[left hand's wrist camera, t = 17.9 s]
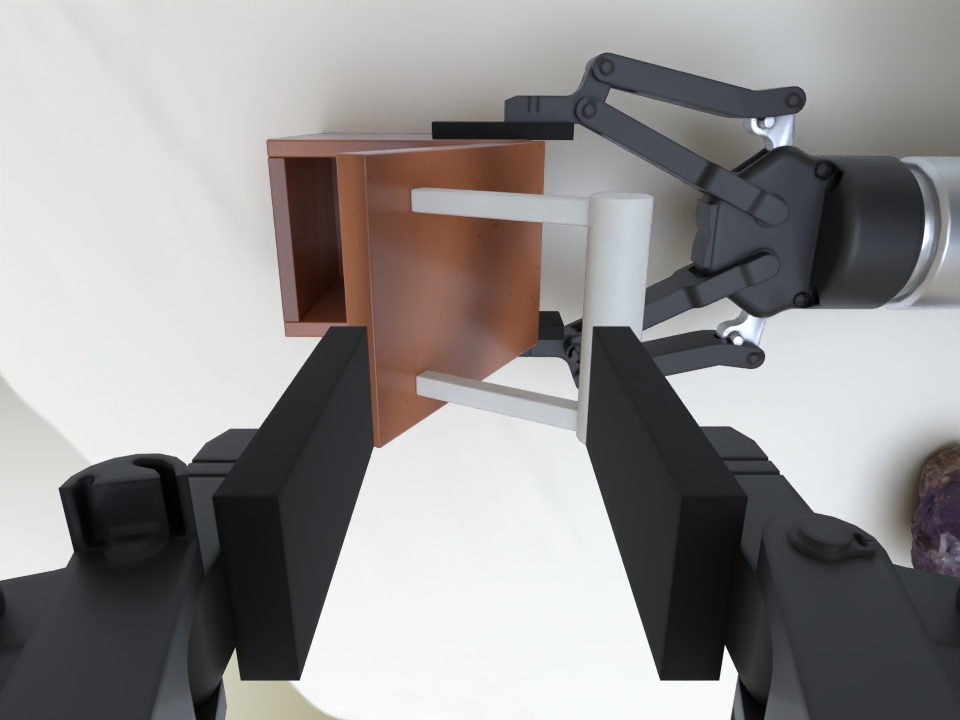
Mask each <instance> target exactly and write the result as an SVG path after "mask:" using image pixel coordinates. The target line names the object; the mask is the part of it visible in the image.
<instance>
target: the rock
mask: <svg viewBox="0 0 960 720" xmlns="http://www.w3.org/2000/svg"><path fill="white" fill-rule="evenodd" d="M918 493H919V496H920V501H921V503H920V504H919V506H918V507H917V508H916V509H915V514H914V515H913V517H912V519H911V522H910V526H911V532H912V534H913V542H912V550H911V557H912V564H913V568H914V569H917V570H923V571H928V572H933V573H938V574H944V575H949V576H954V577H960V446H957V447H955V448H952V449H946V450H944V451H942V452H941V453H939V454H938V455H937V456H935V457H934V458H932V459H930V460H929V461H928V462H927V463H926V464H925V465H924V467H923V470H922V473H921V477H920V480H919V483H918Z"/></svg>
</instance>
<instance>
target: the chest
mask: <svg viewBox="0 0 960 720" xmlns="http://www.w3.org/2000/svg"><path fill="white" fill-rule="evenodd" d="M514 141H531V140H529V139H432V134H328V133H320V134H312V135H303V136H294V137H285V138H276V139H268V140H267V141H266V142H267V152H268V157H269V158H268V165H269V175H270V185H271V195H272V205H273V216H274V226H275V236H276V246H277V256H278V266H279V277H280V287H281V297H282V307H283V317H284V327H285V336H286V337H323V336H324V335H325V333H326V332H327V330H328V329H329V327H330V326H347V314H346V299H345V284H344V269H343V253H342V238H341V223H340V207H339V192H338V177H337V162H336V154H338V153H348V152H363V151H378V150H393V149H408V148H423V147H438V146H453V145H468V144H484V143H499V142H514Z"/></svg>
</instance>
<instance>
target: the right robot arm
mask: <svg viewBox="0 0 960 720" xmlns="http://www.w3.org/2000/svg"><path fill="white" fill-rule="evenodd" d="M610 88H613V89H617V90H621V91H624V92H628V93H632V94H636V95H640V96H644V97H648V98H652V99H655V100H659V101H663V102H667V103H671V104H675V105H679V106H683V107H686V108H690V109H694V110H698V111H702V112H706V113H710V114H714V115H718V116H722V117H728V118H744V128H745V130H746V131H747V132H748V133H750V134H753V135H758V136H760V137H762V139H763V140H764V142H765V148H764V149H763V150H761V151H760V152H758V153H757V154H755V155H754V156H752V157H751V158H749V159H748V160H746V161H745V162H744V163H742V164H741V165H739V166H738V167H736V168H735V169H733V170H732V171H728V170H726V169H724V168H722V167H720V166H718V165H716V164H714V163H712V162H710V161H708V160H706V159H704V158H702V157H701V156H699V155H697V154H695V153H694V152H692V151H690V150H688V149H686V148H685V147H683V146H681V145H679V144H678V143H676V142H674V141H672V140H670V139H669V138H667V137H665V136H663V135H662V134H660V133H658V132H656V131H654V130H653V129H651V128H649V127H647V126H646V125H644V124H642V123H640V122H638V121H637V120H635V119H633V118H631V117H630V116H628V115H626V114H624V113H622V112H621V111H619V110H617V109H615V108H613V107H612V106H610V105H608V104H606V103H605V100H606V98H607V95H608V93H609V90H610ZM805 102H806V95H805V92H804V91H803V89H801V88H799V87H794V86H792V87H781V88H770V89H762V90H750V89H746V88H742V87H738V86H734V85H731V84H727V83H723V82H719V81H715V80H712V79H708V78H704V77H700V76H696V75H692V74H689V73H685V72H681V71H677V70H673V69H670V68H666V67H662V66H658V65H654V64H650V63H647V62H643V61H639V60H635V59H631V58H628V57H624V56H620V55H616V54H612V53H603V54H600V55H598V56H596V57H594V58H592V59H591V60H590V61H589V62H588V63H587V65H586V68H585V73H584V76H583V78H582V81H581V83H580V86H579V88H578V89H577V90H576V92H575V93H573V94H572V95H569V96H515V97H512V98H510V99H507V100H505V110H504V122H447V121H435V122H432V139H529V140H573V136H574V124H580V125H582V126H584V127H586V128H587V129H589V130H591V131H593V132H595V133H597V134H598V135H600V136H602V137H604V138H606V139H607V140H609V141H611V142H613V143H615V144H616V145H618V146H620V147H622V148H624V149H625V150H627V151H629V152H631V153H633V154H635V155H636V156H638V157H640V158H642V159H644V160H645V161H647V162H649V163H651V164H653V165H654V166H656V167H658V168H660V169H662V170H663V171H665V172H667V173H669V174H671V175H673V176H674V177H676V178H678V179H680V180H681V181H683V182H684V183H686V184H688V185H690V186H691V187H693V188H695V189H697V190H699V191H700V192H702V193H704V194H703V196H702V198H701V200H697V207H696V220H697V226H698V232H697V234H696V237H695V240H694V242H693V245H692V252H691V260H692V261H693V262H694V263H692V264H690V265H688V266H685V267H683V268H681V269H679V270H677V271H676V272H674V273H673V275H672V276H671V277H669V278H667V279H665V280H662V281H660V282H658V283H656V284H654V285H652V286H650V287H647V288H646V292H645V304H644V315H643V326H642V331H643V330H646V329H648V328H650V327H652V326H654V325H657V324H659V323H661V322H663V321H665V320H667V319H670V318H672V317H674V316H676V315H678V314H681V313H683V312H685V311H687V310H689V309H692V308H701V307H704V306H707V305H709V304H711V303H714V302H716V301H718V300H720V299H722V298H725V297H727V298H728V299H730V300H731V301H732V302H734V303H735V304H736V305H737V306H739V307H740V308H741V309H742V312H741V314H740V315H739V317H737V318H736V319H734V320H730V321H725V322H722V323H720V324H719V325H718V328H717V330H700V331H694V332H689V333H684V334H679V335H674V336H670V337H665V338H660V339H655V340H651V341H646V342H641V343H642V345H643V346H644V348H645V349H646V350H647V352H648V353H649V355H650V356H651V358H652V359H653V361H654V362H655V363H656V365H657V366H658V368H659V369H660V371H661V372H662V373H663V375H664V376H668V375H673V374H678V373H683V372H688V371H693V370H698V369H702V368H707V367H712V366H717V365H722V366H731V367H739V368H747V369H755V368H757V367H759V366H761V365H762V364H763V362H764V360H765V354H764V351H763V350H762V349H761V348H759V343H760V340H761V336H762V333H763V329H764V326H765V322H766V318H768V317H771V316H774V315H776V314H778V313H780V312H782V311H785V310H788V309H875V308H878V307H881V306H883V307H885V308H887V309H960V157H953V156H911V157H904V158H901V159H897V158H895V157H890V156H811V155H809V154H806V153H804V152H803V151H801V150H800V149H798V148H796V147H794V127H795V113H798V112H799V111H800V110H802V108H803V107H804V105H805ZM582 324H583V318H581V319H579V320H577V321H575V322H572V323H570V324H568V325H566V326H564V324H563V321H562V319H561V316H560V314H559V311H539V328H538V344H536V345H535V346H533V347H532V348H530V349H529V350H527V351H526V352H524V353H522V354H521V355H519V356H518V357H522V356H523V357H559V358H562V359H564V360H565V361H566V362H567V363H568V365H569V368H570V371H571V374H572V376H573V379H574V382H575V385H576V387H577V388H578V389H579V376H580V359H581V342H582Z"/></svg>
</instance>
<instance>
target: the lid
mask: <svg viewBox="0 0 960 720" xmlns="http://www.w3.org/2000/svg"><path fill="white" fill-rule="evenodd" d="M544 156H545V142H544V141H514V142H499V143H484V144H468V145H453V146H438V147H423V148H408V149H393V150H378V151H363V152H348V153H338V154H336V162H337V177H338V192H339V207H340V223H341V238H342V253H343V269H344V284H345V299H346V314H347V326H367V332H368V349H369V365H370V382H371V399H372V415H373V432H374V447H377V448H381V447H383V446H384V445H386V444H387V443H389V442H390V441H392V440H393V439H395V438H396V437H398V436H399V435H401V434H402V433H404V432H405V431H407V430H408V429H410V428H411V427H413V426H414V425H416V424H417V423H419V422H420V421H422V420H423V419H425V418H426V417H428V416H429V415H431V414H432V413H434V412H435V411H437V410H438V409H440V408H441V407H443V406H444V405H446V404H447V403H449V402H451V403H455V404H460V405H464V406H469V407H473V408H477V409H482V410H486V411H490V412H495V413H499V414H503V415H508V416H512V417H516V418H521V419H525V420H530V421H534V422H538V423H543V424H547V425H551V426H556V427H560V428H564V429H569V430H573V431H576V436H577V438H578V439H579V441H581V442H582V443H583V444H585V445H586V432H587V415H588V398H589V382H590V365H591V349H592V332H593V326H630V327H631V329H632V330H633V332H634V333H635V335H636V336H637V338H638V339H639V340H640V342H641V337H642V326H643V315H644V304H645V292H646V281H647V270H648V259H649V248H650V236H651V225H652V214H653V203H654V198H653V196H651V195H649V194H643V193H632V192H601V193H594V194H591V196H590V198H587V197H571V196H554V195H543V185H544ZM542 223H552V224H564V225H576V226H588V238H587V255H586V273H585V290H584V307H583V324H582V342H581V359H580V376H579V393H578V401H573V400H568V399H563V398H559V397H554V396H549V395H544V394H539V393H535V392H530V391H525V390H520V389H515V388H511V387H506V386H501V385H496V384H491V383H487V382H482V380H483V379H485V378H486V377H488V376H489V375H491V374H492V373H494V372H495V371H497V370H498V369H500V368H501V367H503V366H504V365H506V364H507V363H509V362H510V361H512V360H513V359H515V358H516V357H518V356H519V355H521V354H522V353H524V352H526V351H527V350H529V349H530V348H532V347H533V346H535V345H536V344H538V328H539V299H540V271H541V242H542Z"/></svg>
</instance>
